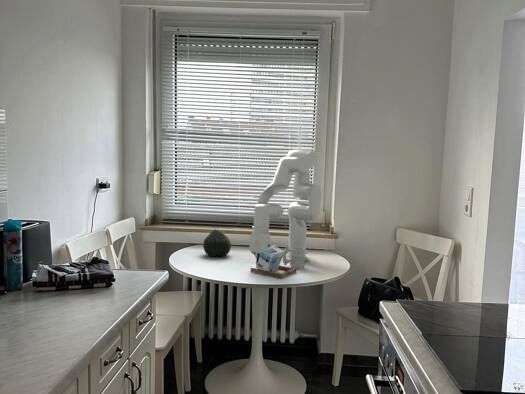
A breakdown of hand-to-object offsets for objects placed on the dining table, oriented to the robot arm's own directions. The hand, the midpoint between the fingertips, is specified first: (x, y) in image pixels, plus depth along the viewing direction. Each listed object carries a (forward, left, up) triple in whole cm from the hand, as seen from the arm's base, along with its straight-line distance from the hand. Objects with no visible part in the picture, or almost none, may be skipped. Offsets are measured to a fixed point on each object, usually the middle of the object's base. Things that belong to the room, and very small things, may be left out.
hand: (259, 266), depth 223 cm
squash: (-10, -36, -2) cm, 37 cm away
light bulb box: (0, +4, -1) cm, 4 cm away
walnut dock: (-1, +7, -2) cm, 8 cm away
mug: (-16, +10, -2) cm, 19 cm away
